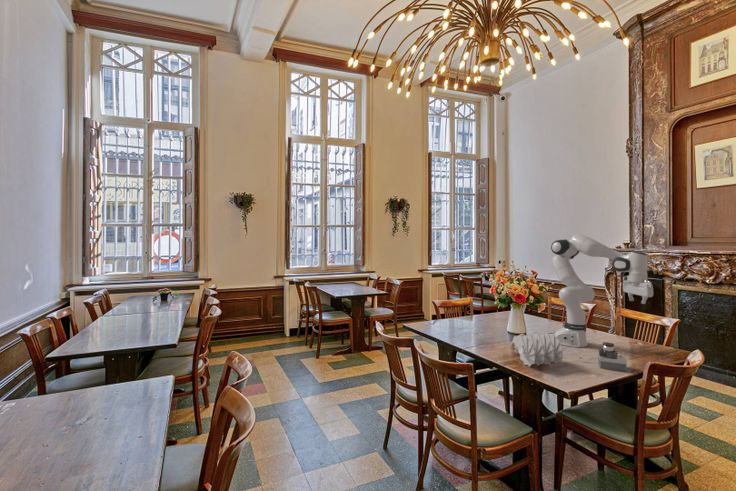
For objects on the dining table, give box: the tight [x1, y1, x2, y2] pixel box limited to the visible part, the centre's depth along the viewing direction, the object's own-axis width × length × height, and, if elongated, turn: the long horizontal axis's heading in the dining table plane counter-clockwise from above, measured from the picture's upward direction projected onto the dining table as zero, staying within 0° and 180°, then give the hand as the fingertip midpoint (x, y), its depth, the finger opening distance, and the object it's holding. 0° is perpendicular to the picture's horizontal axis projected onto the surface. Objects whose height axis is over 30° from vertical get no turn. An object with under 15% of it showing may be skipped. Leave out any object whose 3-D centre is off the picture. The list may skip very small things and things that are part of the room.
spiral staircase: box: [511, 331, 564, 368], centre depth 216 cm, size 18×18×25 cm
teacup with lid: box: [510, 333, 525, 355], centre depth 237 cm, size 12×9×12 cm
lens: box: [602, 342, 615, 353], centre depth 213 cm, size 5×5×7 cm
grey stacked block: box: [597, 347, 628, 372], centre depth 212 cm, size 12×9×9 cm
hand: (637, 302), depth 225 cm, fingers open, 8 cm apart
